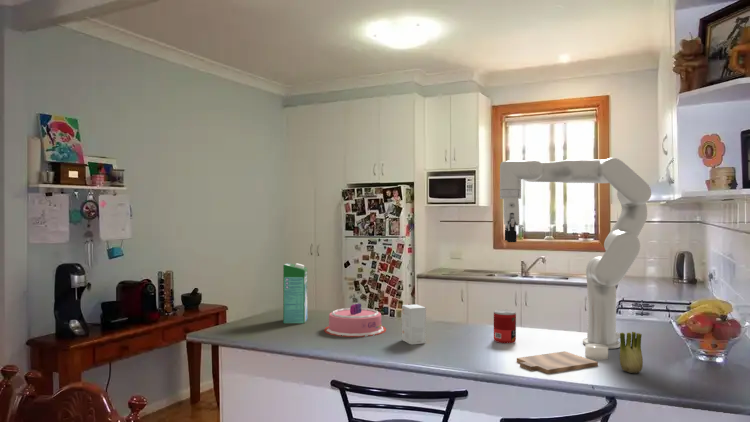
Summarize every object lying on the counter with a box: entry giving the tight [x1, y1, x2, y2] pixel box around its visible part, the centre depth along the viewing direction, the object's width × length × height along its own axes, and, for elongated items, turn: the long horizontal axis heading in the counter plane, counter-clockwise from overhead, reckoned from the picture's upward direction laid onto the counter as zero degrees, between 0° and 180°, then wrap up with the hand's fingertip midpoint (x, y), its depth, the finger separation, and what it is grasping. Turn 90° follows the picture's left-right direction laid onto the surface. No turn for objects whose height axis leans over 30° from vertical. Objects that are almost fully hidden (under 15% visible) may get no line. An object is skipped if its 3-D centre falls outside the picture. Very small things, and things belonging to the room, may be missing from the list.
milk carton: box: [282, 262, 308, 324], centre depth 238 cm, size 9×9×25 cm
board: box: [516, 351, 599, 375], centre depth 172 cm, size 22×14×1 cm, turn 115°
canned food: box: [493, 309, 517, 344], centre depth 203 cm, size 8×8×11 cm
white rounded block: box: [584, 344, 609, 361], centre depth 181 cm, size 7×7×4 cm
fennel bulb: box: [619, 331, 644, 374], centre depth 164 cm, size 6×5×12 cm
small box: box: [401, 303, 427, 345], centre depth 202 cm, size 8×6×13 cm
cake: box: [323, 302, 387, 338], centre depth 221 cm, size 25×25×11 cm
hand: (510, 241), depth 202 cm, fingers open, 9 cm apart
